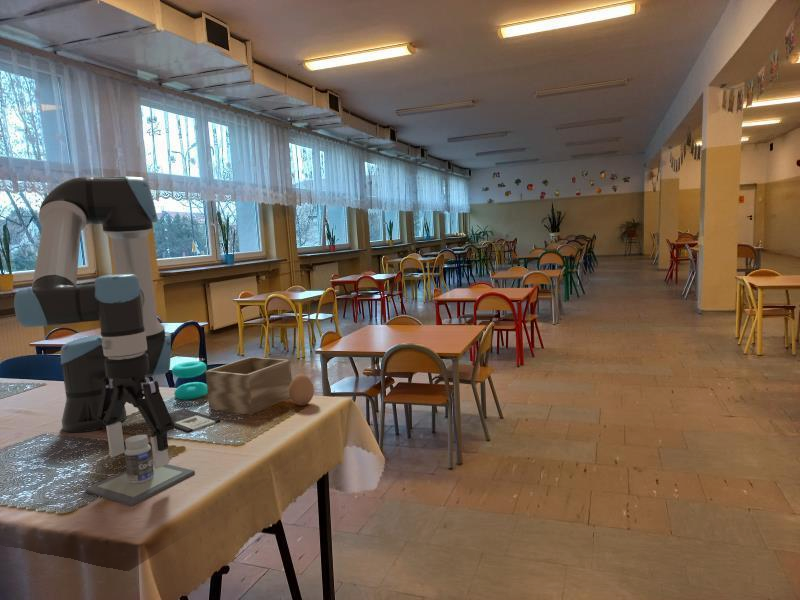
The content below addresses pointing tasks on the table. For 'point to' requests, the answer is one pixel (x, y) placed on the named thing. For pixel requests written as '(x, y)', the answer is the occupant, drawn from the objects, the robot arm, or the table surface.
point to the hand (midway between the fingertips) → (139, 460)
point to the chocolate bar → (191, 420)
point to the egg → (301, 390)
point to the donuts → (192, 388)
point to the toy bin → (248, 384)
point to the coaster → (139, 485)
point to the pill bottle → (138, 459)
